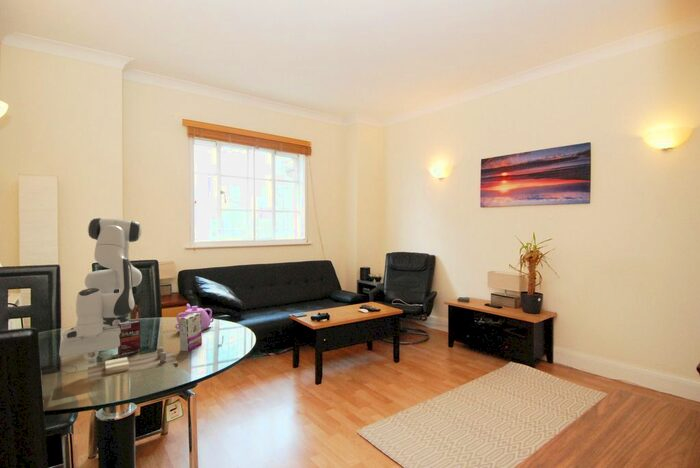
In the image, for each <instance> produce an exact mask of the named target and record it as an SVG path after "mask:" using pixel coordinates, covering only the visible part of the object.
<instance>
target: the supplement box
mask: <svg viewBox="0 0 700 468" xmlns="http://www.w3.org/2000/svg"><path fill="white" fill-rule="evenodd" d="M128 321H129V320H128ZM118 327H120V329H121V333H120V335H119V338H120V346H119V347H118V348H117V355H119V356H124V355H128V354H133V353H137V352H141V322H140V320H138V319H136V320H130V321H129V322H123V323H118Z"/></svg>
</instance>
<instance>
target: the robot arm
mask: <svg viewBox="0 0 700 468" xmlns="http://www.w3.org/2000/svg"><path fill="white" fill-rule="evenodd" d="M87 233H88V236H89V237H90V238H91V239H93V240H96V243H95V247H94V254H93V255H94V260H95V261H96V262H97V264H99V265H100V266H102V267H104V268H107V269H99V270H93V271H91V272H88V274H87V275H86V276H85V278H84V286H85V287H86V289H81V291H79V292H78V293H77V296H76V302H75V314H76V317H77V320H76V326H74V327H71V328H69V329H66V330H64V331H63V333H62V337H63V338H61V341H60V345H59V350H58V352H59V353H58V355H59V357H60V358H69V357H73V356H78V355H79V356H80V355H83V358H84V359H85V360H86V365H89V364H94V363H97V361H96V360H97V357H98V356H99V354H100V351H107V350H112V349H118V347H119V346H120V338H119V335H120V333H121V329H120V327H118V323H123V322H129V320H130V315H129V314H131V312H132V311H133V310H134V309H135V304H136V303H135V298H134V297H135V296H134V290H133V287H137V286H139V285H140V284H141V282H142V281H143V280H142V279H143V274H142V272H141V271H140V270H139V269H138V268H137V267H135V266H134V265H133V264H132V263H131V261H130V253H129V252H130V251H129V250H130V243H134V242H137V241H139V239H140V238H141V236H142V234H143V233H142V227H141V224H140V223H139V222H138V221H134V220H127V219H120V218H100V217H97V218H92V219H91V220H90V222H89V224H88V226H87ZM116 290H119V291H118V292H114V291H116ZM89 353H94V356H93V357H89V356H88V355H89Z"/></svg>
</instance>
